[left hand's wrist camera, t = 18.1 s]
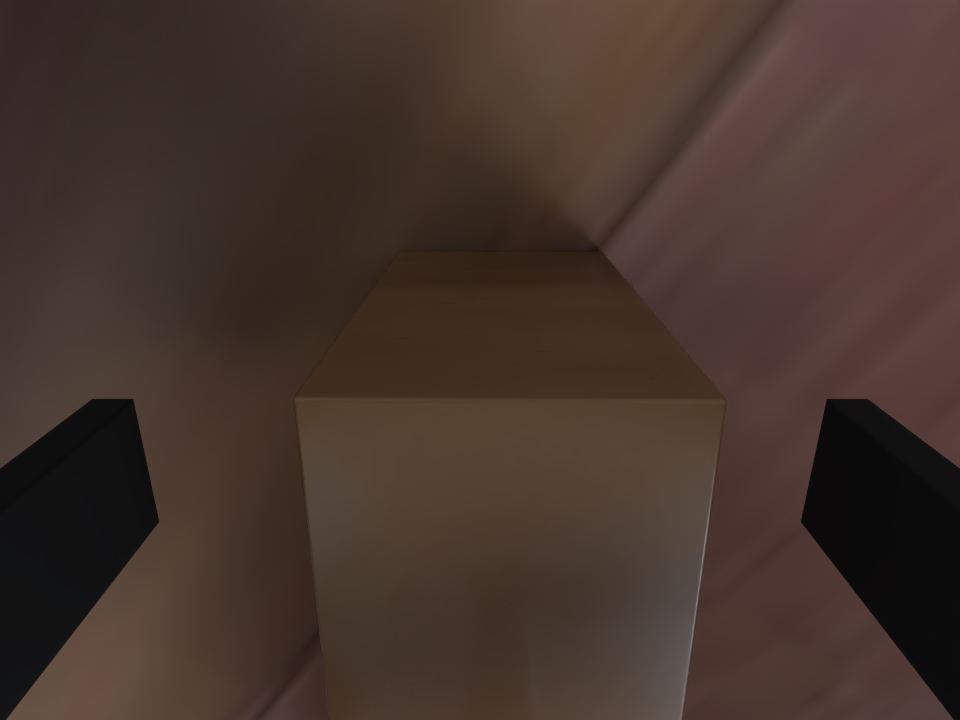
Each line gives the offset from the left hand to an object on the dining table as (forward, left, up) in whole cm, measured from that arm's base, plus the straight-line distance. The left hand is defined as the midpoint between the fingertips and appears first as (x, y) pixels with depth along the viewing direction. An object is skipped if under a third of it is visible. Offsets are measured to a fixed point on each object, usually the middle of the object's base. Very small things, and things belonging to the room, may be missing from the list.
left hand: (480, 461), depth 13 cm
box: (+8, -6, -8) cm, 13 cm away
